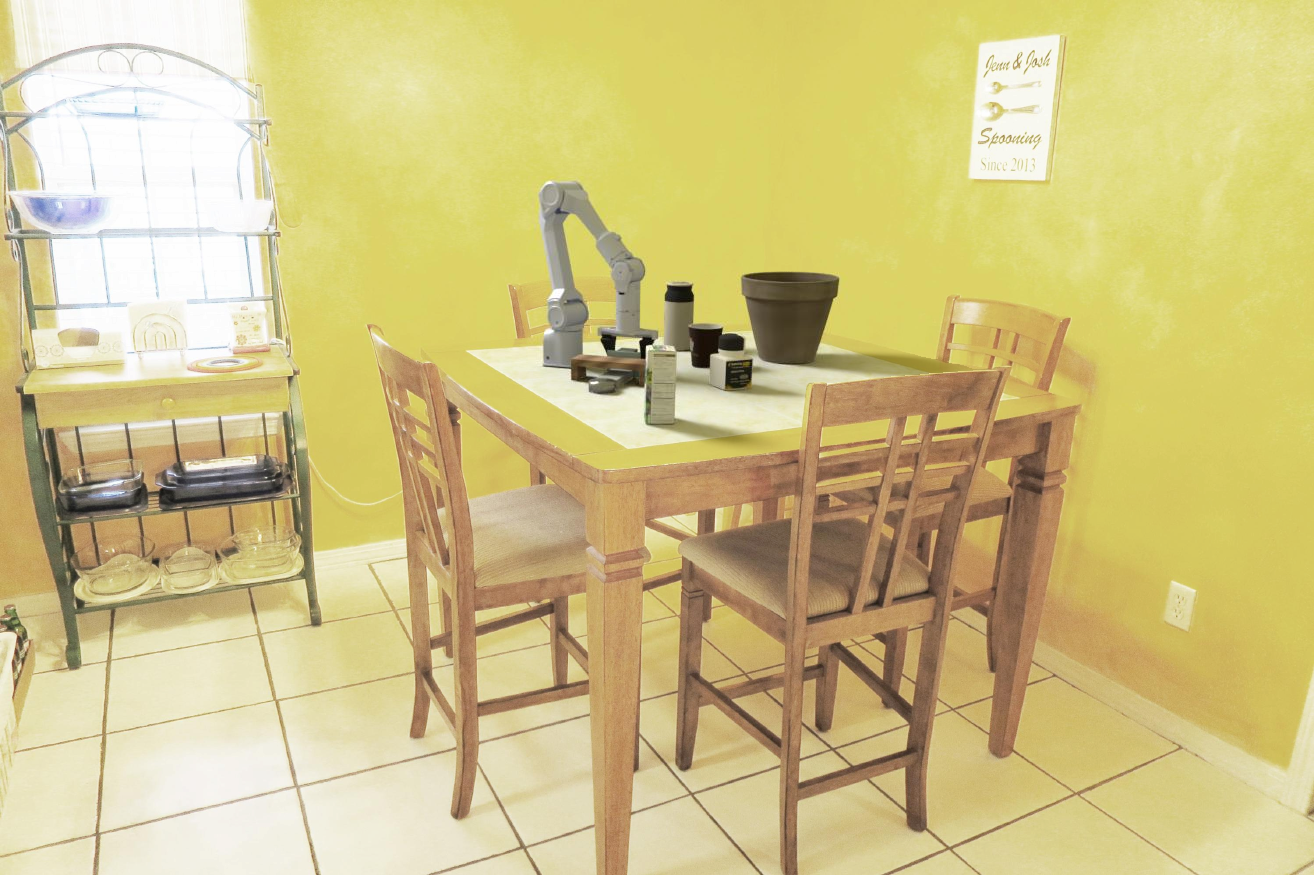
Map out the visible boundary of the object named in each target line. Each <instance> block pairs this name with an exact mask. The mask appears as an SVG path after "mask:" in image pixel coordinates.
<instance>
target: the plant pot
mask: <svg viewBox="0 0 1314 875" xmlns="http://www.w3.org/2000/svg"><path fill="white" fill-rule="evenodd" d="M740 281H741V282H740V284H741V287H740V288H741V295H742V296H743V297H744V298H745V303H746V308H747V312H748V313H747V314H748V316H749V322H750V325H751V330H752V331H751V332H752V335H753V339H754V343H755V347H756V351H757V354H758V357H759V359H761V360H762V361H765V362H769V363H775V364H786V365H787V364H788V365H789V364H790V365H791V364H805V363H811V362H813V361H815V358H816V355H817V353H818V350H819V348H820V344H821V341H822V337H823V334H824V331H825V328H826V325H827V322H828V320H829V319H828V318H829V316H830V312H831V310H832V307H833V306H832V305H833V302H834V299H836V298H837V297H838V293H839V285H840V277H839V276H837V275H834V274H830V273H823V272H822V273H821V272H809V271H763V272H760V271H759V272H752V273H744V274H743V275H742V274H741V277H740Z"/></svg>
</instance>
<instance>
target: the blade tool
mask: <svg viewBox="0 0 1314 875" xmlns="http://www.w3.org/2000/svg"><path fill="white" fill-rule="evenodd" d="M606 356H610V357H623V358H636V359H641V352H640V351H639V349H638V348H634V347H633V348H632V347H620V348H618V349H617V350H616V349H615V350H608V351H607V354H606ZM639 373H640V371H635V370H623V369H610V368H606V372H604V373H602V374H601V375H599V376H598V377H596V378H608V379H614V380H616V390H617V389H619V388H620V387H622V386H623V385H625V384H626V383H628V382H630V381H631V380H632V379H639Z"/></svg>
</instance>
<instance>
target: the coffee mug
mask: <svg viewBox="0 0 1314 875" xmlns="http://www.w3.org/2000/svg"><path fill="white" fill-rule="evenodd" d="M723 330H724V325H722V324H717V323H709V322H708V323H704V322H703V323H702V322H700V323H693V324H690V325H689V337H690V358H691V366H692V367H693V368H698V369H710V355H711V354H719V352H718V346H719V336H720V335H722V334H723Z"/></svg>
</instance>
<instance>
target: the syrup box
mask: <svg viewBox="0 0 1314 875" xmlns="http://www.w3.org/2000/svg"><path fill="white" fill-rule="evenodd" d="M677 353H678V351H676V349H675V347H674V346H668V345H664V344H653V345H649V346H646V365H645V386H644V392H643V393H644V397H643V399H644V400H643V419H644V423H645V425H667V424H668V425H669V424H672V425H674V424H675V414H676V413H675V412H676V409H675V408H676V387H677V386H676V385H677V383H676V382H677V362H678V361H677V358H678V354H677Z"/></svg>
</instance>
